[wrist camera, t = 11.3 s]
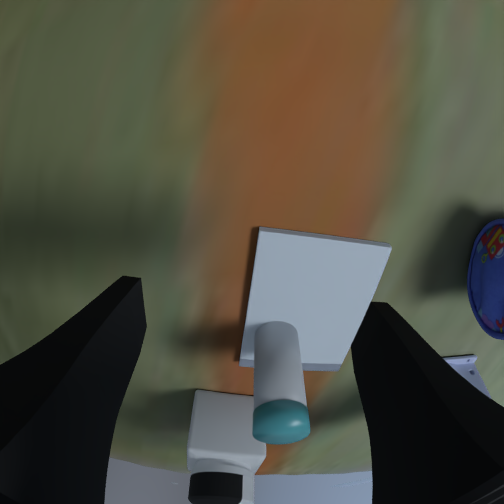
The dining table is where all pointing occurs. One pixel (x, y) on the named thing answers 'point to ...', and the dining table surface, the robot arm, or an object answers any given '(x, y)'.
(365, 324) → the robot arm
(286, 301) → the note pad
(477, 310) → the pencil case
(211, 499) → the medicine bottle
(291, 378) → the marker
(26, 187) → the dining table surface
